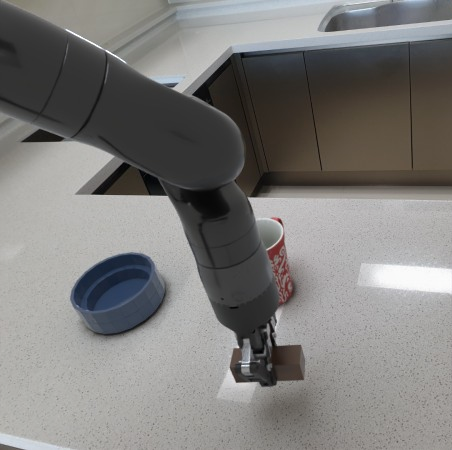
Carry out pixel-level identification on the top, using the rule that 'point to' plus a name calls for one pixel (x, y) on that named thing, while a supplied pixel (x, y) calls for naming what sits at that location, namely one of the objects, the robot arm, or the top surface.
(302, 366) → the bar
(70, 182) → the top surface
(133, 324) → the bowl
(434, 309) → the top surface
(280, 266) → the mug
